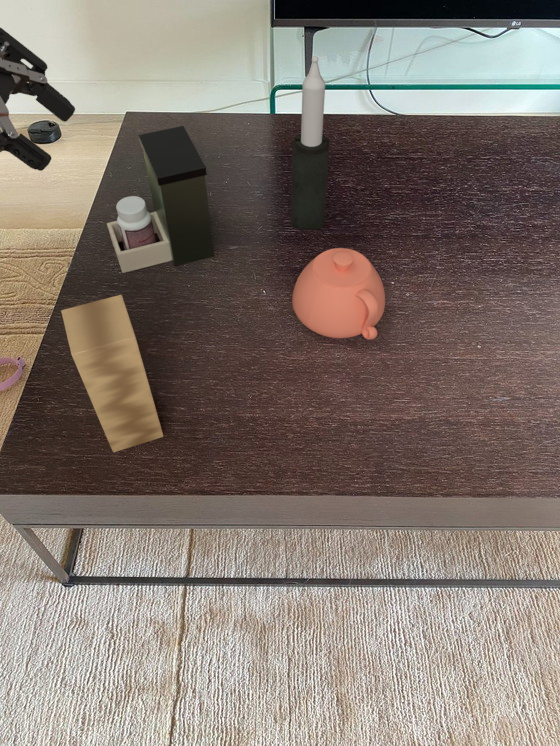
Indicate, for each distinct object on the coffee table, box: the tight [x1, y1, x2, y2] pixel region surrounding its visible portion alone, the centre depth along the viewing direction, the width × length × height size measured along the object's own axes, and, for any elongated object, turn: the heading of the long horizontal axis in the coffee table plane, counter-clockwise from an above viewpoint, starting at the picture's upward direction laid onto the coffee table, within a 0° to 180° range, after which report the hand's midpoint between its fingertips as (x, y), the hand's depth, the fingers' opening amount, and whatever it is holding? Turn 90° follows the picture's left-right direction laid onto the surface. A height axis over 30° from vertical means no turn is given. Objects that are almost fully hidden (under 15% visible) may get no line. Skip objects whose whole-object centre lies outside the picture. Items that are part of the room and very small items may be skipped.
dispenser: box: [138, 125, 215, 267], centre depth 88 cm, size 6×10×15 cm, turn 21°
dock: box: [106, 211, 173, 274], centre depth 91 cm, size 7×7×4 cm
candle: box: [290, 55, 331, 230], centre depth 87 cm, size 5×5×25 cm
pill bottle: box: [115, 195, 157, 251], centre depth 89 cm, size 5×5×8 cm
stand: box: [60, 294, 164, 453], centre depth 67 cm, size 6×6×18 cm
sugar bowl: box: [291, 247, 386, 340], centre depth 80 cm, size 12×14×10 cm
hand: (59, 139), depth 68 cm, fingers open, 8 cm apart
